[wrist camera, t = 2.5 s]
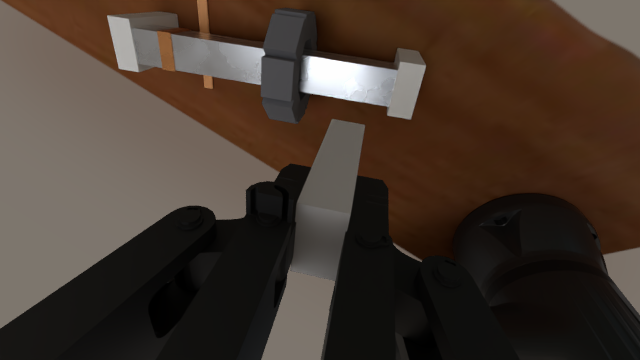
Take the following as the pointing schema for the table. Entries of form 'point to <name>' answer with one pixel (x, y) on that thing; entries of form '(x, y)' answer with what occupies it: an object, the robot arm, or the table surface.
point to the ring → (286, 63)
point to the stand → (127, 59)
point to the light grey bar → (245, 63)
